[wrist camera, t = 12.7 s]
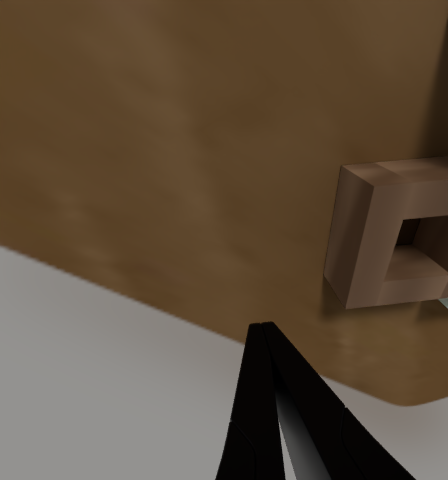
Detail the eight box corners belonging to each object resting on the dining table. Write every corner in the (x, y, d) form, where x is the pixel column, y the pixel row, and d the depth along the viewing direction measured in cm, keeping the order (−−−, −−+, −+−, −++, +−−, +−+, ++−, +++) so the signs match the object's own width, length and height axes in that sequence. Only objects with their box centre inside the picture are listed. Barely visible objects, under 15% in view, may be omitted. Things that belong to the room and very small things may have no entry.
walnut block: (475, 153, 14) (538, 171, 11) (429, 263, 17) (469, 295, 15) (341, 165, 14) (374, 186, 11) (323, 274, 17) (345, 309, 15)
